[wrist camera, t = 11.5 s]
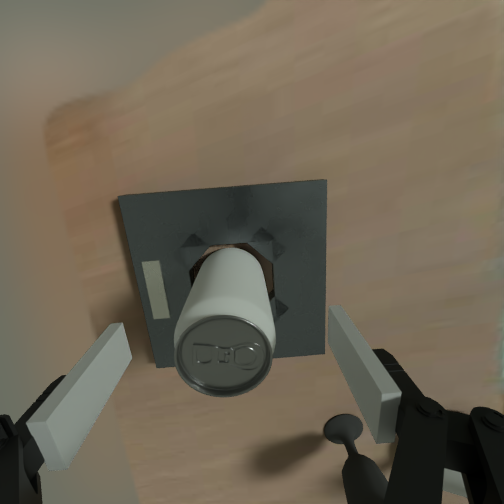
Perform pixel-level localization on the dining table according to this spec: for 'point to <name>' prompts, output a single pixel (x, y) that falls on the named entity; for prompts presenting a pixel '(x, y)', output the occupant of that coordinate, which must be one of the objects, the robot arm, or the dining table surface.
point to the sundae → (356, 463)
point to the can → (226, 327)
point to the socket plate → (229, 232)
